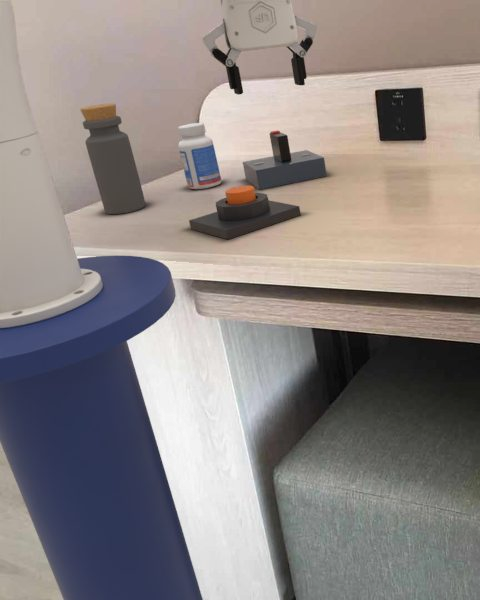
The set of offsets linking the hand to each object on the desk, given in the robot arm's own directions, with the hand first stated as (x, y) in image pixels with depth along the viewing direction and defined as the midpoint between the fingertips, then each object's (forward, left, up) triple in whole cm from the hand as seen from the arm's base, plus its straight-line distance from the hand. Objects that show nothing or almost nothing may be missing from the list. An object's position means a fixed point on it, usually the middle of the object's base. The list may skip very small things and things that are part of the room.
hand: (269, 89), depth 104 cm
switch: (-18, -16, -11) cm, 26 cm away
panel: (0, 0, -14) cm, 14 cm away
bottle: (-23, +9, -14) cm, 28 cm away
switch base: (-18, -16, -14) cm, 28 cm away
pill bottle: (-9, +10, -14) cm, 19 cm away
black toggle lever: (0, 0, -11) cm, 11 cm away
